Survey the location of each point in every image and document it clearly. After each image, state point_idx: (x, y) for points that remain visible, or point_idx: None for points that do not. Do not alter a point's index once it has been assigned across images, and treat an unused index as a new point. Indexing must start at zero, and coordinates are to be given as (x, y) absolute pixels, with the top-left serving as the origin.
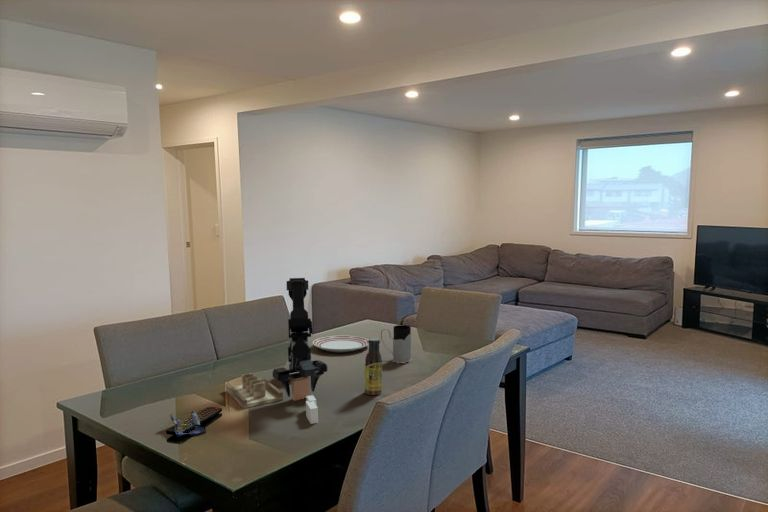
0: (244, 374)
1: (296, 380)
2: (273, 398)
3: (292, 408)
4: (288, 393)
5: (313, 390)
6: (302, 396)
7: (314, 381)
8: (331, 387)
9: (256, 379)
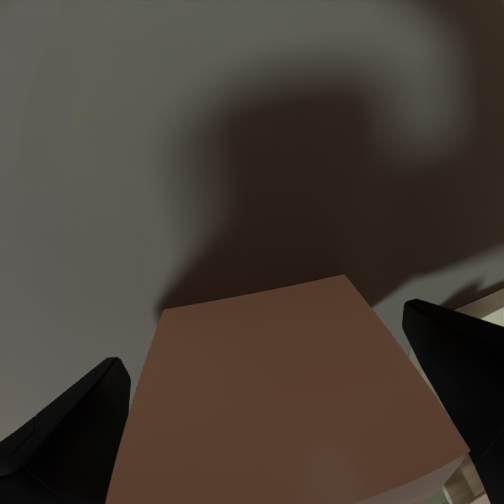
0: (484, 494)
1: (401, 491)
2: (487, 316)
3: (412, 78)
4: (444, 311)
5: (107, 362)
6: (250, 310)
7: (46, 437)
8: (23, 401)
9: (474, 480)
